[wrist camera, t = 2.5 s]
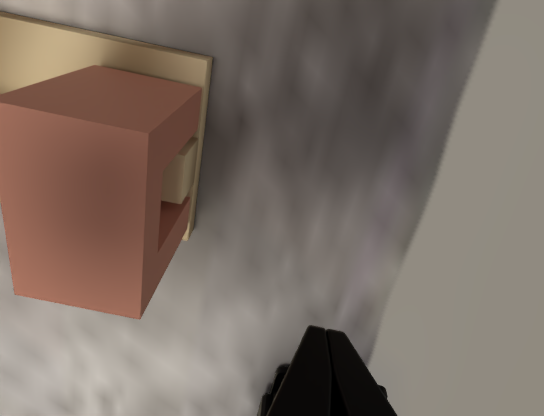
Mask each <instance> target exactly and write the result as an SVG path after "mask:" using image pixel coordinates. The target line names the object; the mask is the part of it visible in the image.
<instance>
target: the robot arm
mask: <svg viewBox="0 0 544 416" xmlns="http://www.w3.org/2000/svg"><path fill="white" fill-rule="evenodd" d="M284 375H285V376H284ZM257 416H397V414H396V413H395V411H394V410H393V408H392V406H391V405H390V404H389V402H388V400H387V392H386V389H385V388H384V387H383V386H380V385H378V384H377V383H376V381H375V380H374V378H373V377H372V375H371V373H370V372H369V370H368V369H367V367H366V366H365V364H364V362H363V361H362V359H361V358H360V356H359V355H358V353H357V351H356V350H355V348H354V347H353V345H352V344H351V342H350V340H349V339H348V337H347V336H346V334H345V333H344V332H342V331H337V330H332V329H327V330H325V328H322V327H318V326H313V325H309V326H308V327H307V329H306V332H305V334H304V336H303V338H302V340H301V342H300V345H299V347H298V349H297V351H296V353H295V355H294V358H293V360H292V362H291V364H290V366H289V367H280V368H278V369H277V371H276V374H275V377H274V381H273V384H272V388H271V391H270V394H267V393H266V394H265V395H263V396H262V399H261V403H260V407H259V410H258V414H257Z"/></svg>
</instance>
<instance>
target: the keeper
mask: <svg viewBox="0 0 544 416" xmlns="http://www.w3.org/2000/svg"><path fill="white" fill-rule="evenodd" d="M201 93H202V88H201V87H196V86H192V85H187V84H182V83H178V82H173V81H168V80H164V79H159V78H154V77H149V76H145V75H140V74H135V73H131V72H126V71H121V70H117V69H112V68H107V67H103V66H98V65H92V66H89V67H86V68H83V69H79V70H76V71H73V72H70V73H67V74H64V75H60V76H57V77H54V78H51V79H48V80H45V81H41V82H38V83H35V84H32V85H29V86H26V87H22V88H19V89H16V90H13V91H10V92H7V93H3V94H0V201H1V207H2V214H3V220H4V227H5V234H6V240H7V247H8V253H9V260H10V267H11V273H12V280H13V286H14V293H15V295H20V296H25V297H30V298H35V299H40V300H45V301H50V302H55V303H60V304H65V305H70V306H75V307H80V308H85V309H90V310H95V311H100V312H105V313H110V314H115V315H120V316H125V317H130V318H135V319H141V317H142V315H143V313H144V311H145V309H146V307H147V305H148V303H149V302H150V300H151V298H152V296H153V294H154V292H155V290H156V288H157V286H158V284H159V282H160V280H161V278H162V276H163V275H164V273H165V271H166V269H167V267H168V265H169V263H170V261H171V259H172V257H173V255H174V253H175V251H176V249H177V248H178V246H179V244H180V242H181V240H182V238H183V236H184V234H185V232H186V230H187V225H188V216H189V206H190V197H187V196H186V197H185V198H184V200H183V202H182V203H181V204H177V203H172V202H167V201H162V200H161V193H162V178H163V171H164V169H165V168H166V167H167V166H168V164H169V163H170V162H171V161H172V160H173V158H174V157H175V156H176V155H177V154H178V152H179V151H180V150H181V149H182V148H183V146H184V145H185V144H186V143H187V142H188V140H189V139H190V138H191V137H192V136H193V134H194V133H195V132H196V131H197V130H198V122H199V112H200V103H201Z"/></svg>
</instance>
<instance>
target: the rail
mask: <svg viewBox="0 0 544 416" xmlns="http://www.w3.org/2000/svg"><path fill="white" fill-rule="evenodd" d="M212 61H213V57H210V56H205V55H200V54H196V53H191V52H186V51H182V50H177V49H173V48H168V47H163V46H159V45H154V44H149V43H145V42H140V41H135V40H131V39H126V38H121V37H117V36H112V35H108V34H103V33H98V32H94V31H89V30H84V29H80V28H75V27H70V26H66V25H61V24H56V23H52V22H47V21H43V20H38V19H33V18H29V17H24V16H19V15H15V14H10V13H5V12H1V11H0V94H3V93H7V92H10V91H13V90H16V89H19V88H22V87H26V86H29V85H32V84H35V83H38V82H41V81H45V80H48V79H51V78H54V77H57V76H60V75H64V74H67V73H70V72H73V71H76V70H79V69H83V68H86V67H89V66H92V65H98V66H103V67H107V68H112V69H117V70H121V71H126V72H131V73H135V74H140V75H145V76H149V77H154V78H159V79H164V80H168V81H173V82H178V83H182V84H187V85H192V86H196V87H201V88H202V93H201V103H200V112H199V122H198V130H197V131H196V132H195V133H194V134H193V136H192V137H191V138H190V139H189V140H188V142H187V143H186V144H185V145H184V146H183V148H182V149H181V150H180V151H179V152H178V154H177V155H176V156H175V157H174V158H173V160H172V161H171V162H170V163H169V164H168V166H167V167H166V168H165V169H164V171H163V178H162V193H161V200H162V201H167V202H172V203H177V204H181V203H182V202H183V200H184V198H185V197H186V196H187V197H190V206H189V216H188V225H187V230H186V232H185V234H184V236H183V238H182V240H186V241H188V239H189V237H190V235H191V233H192V231H193V227H194V218H195V209H196V201H197V192H198V183H199V175H200V166H201V157H202V148H203V140H204V131H205V122H206V114H207V105H208V96H209V88H210V79H211V70H212ZM0 203H1V201H0Z"/></svg>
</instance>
